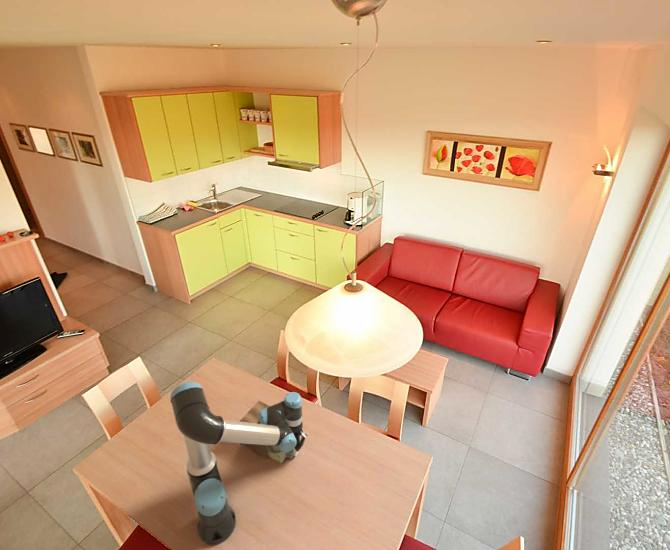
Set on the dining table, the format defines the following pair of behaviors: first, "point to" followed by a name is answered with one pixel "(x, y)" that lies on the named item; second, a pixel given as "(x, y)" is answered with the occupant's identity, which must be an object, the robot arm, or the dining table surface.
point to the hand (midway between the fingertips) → (295, 453)
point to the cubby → (253, 418)
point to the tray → (279, 454)
